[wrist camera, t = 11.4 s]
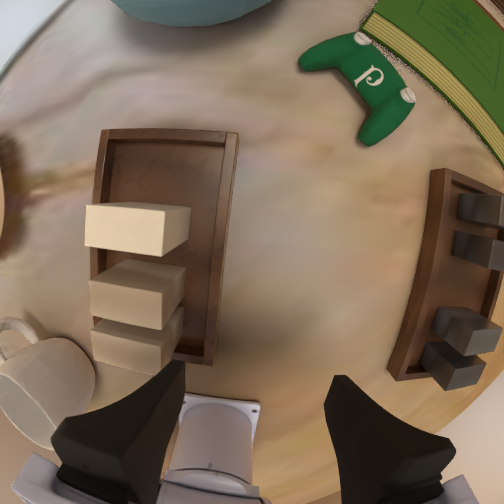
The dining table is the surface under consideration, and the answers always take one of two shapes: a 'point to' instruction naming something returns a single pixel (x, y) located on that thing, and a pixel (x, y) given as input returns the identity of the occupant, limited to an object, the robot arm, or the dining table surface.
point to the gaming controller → (365, 81)
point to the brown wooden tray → (172, 263)
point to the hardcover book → (450, 55)
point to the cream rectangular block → (136, 227)
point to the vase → (188, 10)
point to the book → (499, 4)
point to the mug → (43, 383)
